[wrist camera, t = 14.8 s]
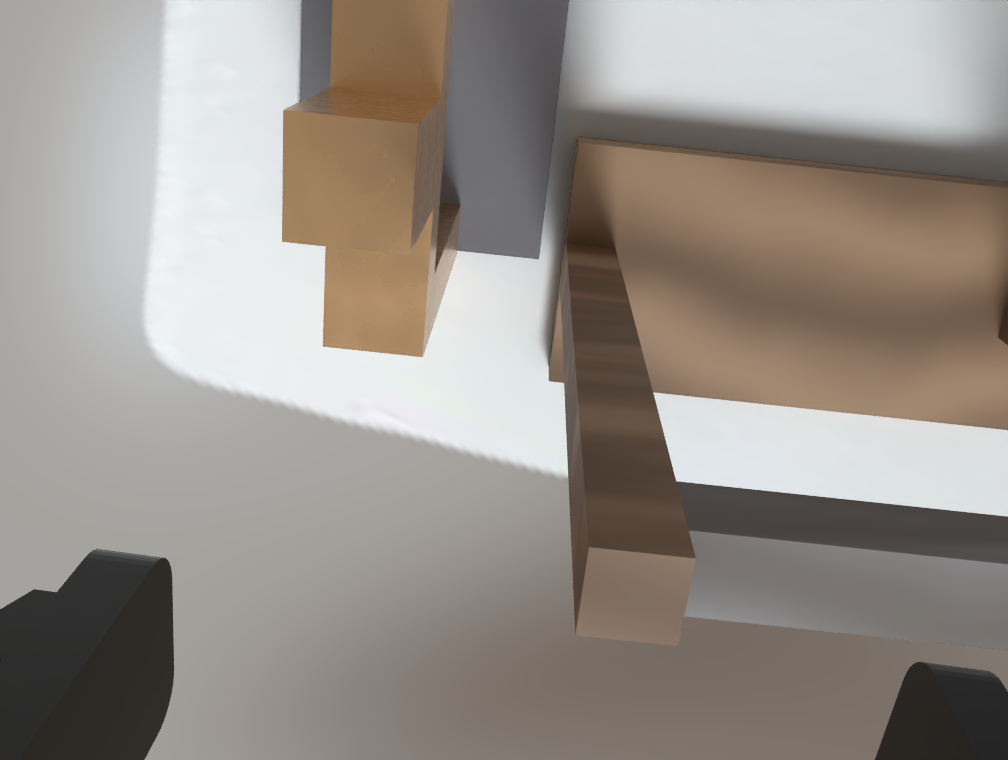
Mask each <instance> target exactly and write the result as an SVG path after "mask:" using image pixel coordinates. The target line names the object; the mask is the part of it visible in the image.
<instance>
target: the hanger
mask: <svg viewBox="0 0 1008 760" xmlns="http://www.w3.org/2000/svg"><path fill="white" fill-rule="evenodd" d="M453 14H454V0H333V2H332V38H331V74H330V87H329V88H327V89H325V90H323V91H321V92H319V93H317V94H315V95H313V96H311V97H309V98H307V99H305V100H303V101H301V102H299V103H297V104H294V105H292V106H290V107H288V108H286V109H284V111H283V212H282V242H291V243H300V244H310V245H319V246H326V255H325V291H324V327H323V347H333V348H342V349H352V350H361V351H370V352H380V353H389V354H399V355H408V356H418V357H423V355H424V352H425V349H426V345H427V342H428V339H429V336H430V333H431V330H432V327H433V324H434V321H435V318H436V315H437V312H438V309H439V306H440V303H441V300H442V297H443V294H444V291H445V288H446V285H447V282H448V279H449V276H450V273H451V270H452V267H453V264H454V261H455V257H456V254H457V247H458V235H459V222H460V210H461V205H454V204H445V203H440V192H441V178H442V165H443V151H444V137H445V124H446V110H447V96H448V82H449V69H450V55H451V41H452V28H453Z"/></svg>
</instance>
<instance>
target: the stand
mask: <svg viewBox="0 0 1008 760" xmlns="http://www.w3.org/2000/svg"><path fill="white" fill-rule="evenodd" d="M549 381H553V382H562V383H564V388H565V410H566V433H567V456H568V478H569V500H570V522H571V546H572V569H573V591H574V614H575V635H578V636H589V637H598V638H607V639H616V640H625V641H635V642H644V643H655V644H663V645H672V646H678V644H679V639H680V634H681V629H682V624H683V620H684V616H687V617H697V618H706V619H715V620H725V621H735V622H744V623H753V624H763V625H772V626H782V627H791V628H800V629H809V630H819V631H828V632H838V633H847V634H856V635H866V636H875V637H885V638H894V639H903V640H904V639H905V640H913V641H923V642H932V643H941V644H950V645H961V646H969V647H979V648H988V649H997V650H1007V651H1008V517H1005V516H996V515H987V514H977V513H968V512H958V511H949V510H940V509H930V508H921V507H911V506H902V505H893V504H883V503H874V502H864V501H855V500H846V499H836V498H827V497H817V496H808V495H799V494H789V493H780V492H770V491H761V490H752V489H742V488H733V487H723V486H714V485H705V484H695V483H686V482H676V479H675V475H674V472H673V468H672V464H671V460H670V456H669V452H668V448H667V445H666V441H665V437H664V433H663V429H662V425H661V421H660V418H659V414H658V410H657V406H656V402H655V398H654V394H653V392H656V393H665V394H675V395H684V396H694V397H703V398H712V399H722V400H731V401H741V402H750V403H759V404H769V405H778V406H788V407H797V408H806V409H816V410H825V411H835V412H844V413H853V414H863V415H872V416H882V417H891V418H900V419H910V420H919V421H929V422H938V423H947V424H957V425H966V426H976V427H985V428H994V429H1004V430H1008V183H1007V182H998V181H988V180H979V179H970V178H960V177H951V176H941V175H932V174H922V173H913V172H904V171H894V170H885V169H875V168H866V167H857V166H847V165H838V164H828V163H819V162H810V161H800V160H791V159H781V158H772V157H763V156H753V155H744V154H734V153H725V152H716V151H706V150H697V149H687V148H678V147H669V146H659V145H650V144H640V143H631V142H622V141H612V140H603V139H593V138H584V137H578V139H577V147H576V155H575V163H574V171H573V179H572V187H571V195H570V203H569V211H568V219H567V227H566V235H565V243H564V251H563V259H562V267H561V275H560V283H559V291H558V299H557V307H556V315H555V323H554V331H553V339H552V347H551V355H550V363H549Z"/></svg>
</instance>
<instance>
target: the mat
mask: <svg viewBox="0 0 1008 760" xmlns="http://www.w3.org/2000/svg"><path fill="white" fill-rule="evenodd" d="M332 2H333V0H302V37H301V98H300V102H301V101H303V100H305V99H307V98H309V97H311V96H313V95H315V94H317V93H319V92H321V91H323V90H325V89H327V88H329V87H330V74H331V38H332ZM568 2H569V0H454V14H453V28H452V41H451V55H450V69H449V82H448V96H447V110H446V124H445V137H444V151H443V165H442V178H441V192H440V203H445V204H454V205H461V210H460V222H459V235H458V247H457V251H467V252H476V253H485V254H495V255H504V256H514V257H523V258H532V259H539V253H540V244H541V236H542V227H543V218H544V210H545V201H546V192H547V184H548V175H549V166H550V158H551V149H552V140H553V132H554V123H555V114H556V106H557V97H558V88H559V80H560V71H561V62H562V54H563V45H564V36H565V28H566V19H567V10H568Z"/></svg>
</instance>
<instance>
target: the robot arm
mask: <svg viewBox="0 0 1008 760" xmlns="http://www.w3.org/2000/svg"><path fill="white" fill-rule="evenodd" d="M172 597H173V596H172V572H171V566H170V563H169V561H168V560H167V559H166V558H160V557H153V556H146V555H138V554H131V553H124V552H116V551H109V550H101V549H96V550H93V551H92V552H90V553H89V554H88V555H87V556H86V557H85V558H84V560H83V561H82V562H81V563H80V565H79V566H78V567H77V568H76V570H75V571H74V572H73V573H72V574H71V575H70V577H69V578H68V579H67V581H66V582H65V583H64V584H63V585H62V587H61V588H60V589H59V590H58V592H50V591H42V590H35V589H34V590H32V591H31V592H29V593H27V594H25V595H24V596H22V597H20V598H19V599H17V600H15V601H14V602H12V603H10V604H9V605H7V606H6V607H4V608H2V609H0V760H144V759H145V758H146V756H147V754H148V751H149V750H150V748H151V746H152V744H153V742H154V741H155V739H156V737H157V735H158V733H159V731H160V729H161V726H162V724H163V722H164V719H165V716H166V713H167V709H168V706H169V702H170V697H171V693H172V687H173V678H174V645H173V599H172ZM875 760H1008V692H1007V690H1006V689H1005V687H1004V685H1003V684H1002V682H1001V681H1000V679H999V678H998V677H997V676H996V675H995V674H993V673H991V672H989V671H983V670H976V669H968V668H960V667H953V666H946V665H939V664H931V663H924V662H917V663H915V664H913V665H912V666H911V667H910V668H909V669H908V671H907V673H906V675H905V677H904V680H903V682H902V685H901V688H900V691H899V694H898V697H897V699H896V702H895V705H894V708H893V710H892V713H891V716H890V719H889V722H888V724H887V727H886V730H885V733H884V736H883V738H882V741H881V744H880V747H879V750H878V753H877V755H876V758H875Z"/></svg>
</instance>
